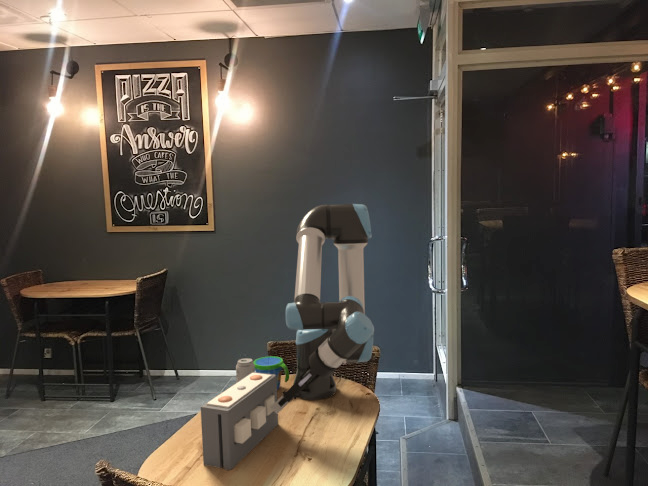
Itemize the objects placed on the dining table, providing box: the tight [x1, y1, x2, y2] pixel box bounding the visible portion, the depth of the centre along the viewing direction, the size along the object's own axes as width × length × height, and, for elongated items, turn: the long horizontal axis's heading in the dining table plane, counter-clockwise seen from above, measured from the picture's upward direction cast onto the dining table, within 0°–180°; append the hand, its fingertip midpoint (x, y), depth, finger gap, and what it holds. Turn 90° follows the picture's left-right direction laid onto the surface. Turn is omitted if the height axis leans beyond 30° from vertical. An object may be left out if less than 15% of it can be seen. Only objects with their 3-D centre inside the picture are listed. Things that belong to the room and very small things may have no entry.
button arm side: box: [264, 395, 275, 416], centre depth 139 cm, size 3×4×4 cm, turn 158°
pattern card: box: [206, 373, 272, 408], centre depth 132 cm, size 6×23×1 cm, turn 158°
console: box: [200, 372, 279, 471], centre depth 133 cm, size 8×26×15 cm, turn 158°
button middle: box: [250, 406, 266, 429], centre depth 131 cm, size 3×4×4 cm, turn 158°
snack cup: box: [253, 355, 290, 390], centre depth 171 cm, size 16×10×10 cm
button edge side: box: [234, 418, 251, 444], centre depth 123 cm, size 3×4×4 cm, turn 158°
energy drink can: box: [235, 357, 255, 383], centre depth 158 cm, size 6×6×15 cm
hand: (274, 409), depth 138 cm, fingers closed
